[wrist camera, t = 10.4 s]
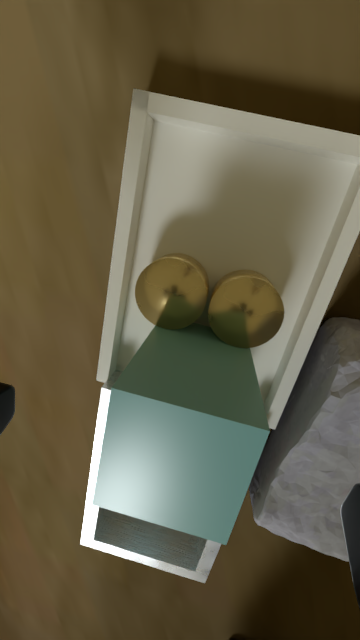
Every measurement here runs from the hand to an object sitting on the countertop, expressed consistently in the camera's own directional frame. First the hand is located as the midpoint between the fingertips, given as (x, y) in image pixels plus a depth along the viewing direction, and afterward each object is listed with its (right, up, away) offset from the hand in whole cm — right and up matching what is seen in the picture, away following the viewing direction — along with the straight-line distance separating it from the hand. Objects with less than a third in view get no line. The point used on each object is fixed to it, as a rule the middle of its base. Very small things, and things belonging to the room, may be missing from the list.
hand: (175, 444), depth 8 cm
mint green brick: (+1, +1, +7) cm, 7 cm away
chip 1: (0, +5, +6) cm, 8 cm away
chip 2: (+3, +4, +6) cm, 8 cm away
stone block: (+10, -2, +8) cm, 13 cm away
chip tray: (+2, +5, +6) cm, 8 cm away
